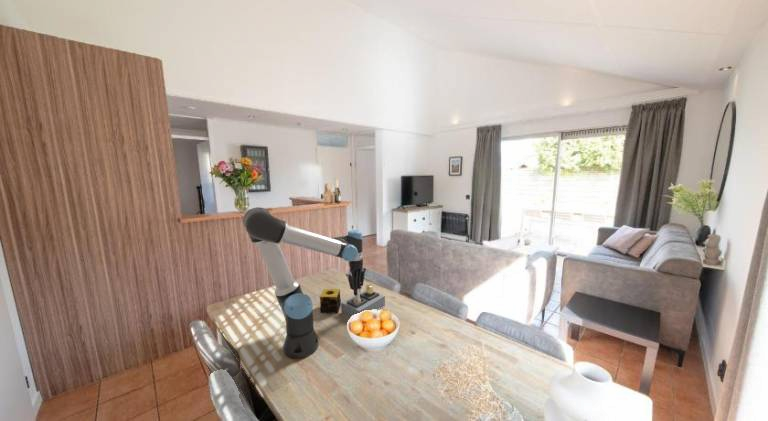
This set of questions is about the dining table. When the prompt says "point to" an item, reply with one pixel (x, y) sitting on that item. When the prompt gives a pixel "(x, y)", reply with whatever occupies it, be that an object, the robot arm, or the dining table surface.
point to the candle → (330, 301)
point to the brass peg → (369, 290)
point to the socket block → (362, 303)
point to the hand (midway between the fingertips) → (357, 299)
